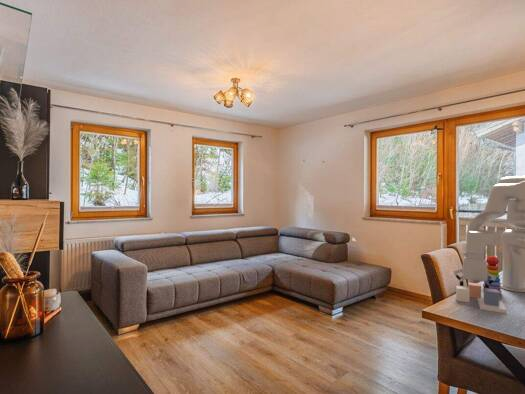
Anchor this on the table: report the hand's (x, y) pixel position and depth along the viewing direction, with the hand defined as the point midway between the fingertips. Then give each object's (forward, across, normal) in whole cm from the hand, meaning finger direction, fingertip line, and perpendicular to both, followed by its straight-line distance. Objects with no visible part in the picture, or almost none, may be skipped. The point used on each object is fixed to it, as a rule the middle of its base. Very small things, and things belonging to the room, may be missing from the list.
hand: (473, 290), depth 151 cm
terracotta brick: (+3, 0, 0) cm, 3 cm away
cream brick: (+3, -5, -8) cm, 10 cm away
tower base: (+3, +5, -12) cm, 14 cm away
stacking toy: (+3, +9, +12) cm, 16 cm away
